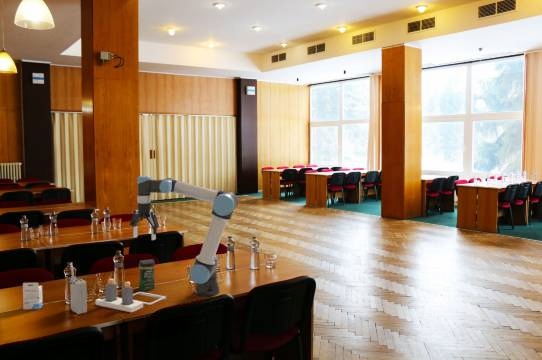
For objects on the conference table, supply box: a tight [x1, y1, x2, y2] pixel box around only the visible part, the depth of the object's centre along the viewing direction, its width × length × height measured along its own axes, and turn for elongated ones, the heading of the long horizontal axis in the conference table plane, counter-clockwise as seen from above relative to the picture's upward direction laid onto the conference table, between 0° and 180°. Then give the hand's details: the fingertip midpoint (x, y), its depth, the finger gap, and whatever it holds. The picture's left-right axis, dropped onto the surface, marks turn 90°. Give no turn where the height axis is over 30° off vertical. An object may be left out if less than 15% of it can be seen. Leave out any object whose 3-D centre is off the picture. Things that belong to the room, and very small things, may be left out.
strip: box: [94, 295, 144, 313], centre depth 256 cm, size 26×9×4 cm, turn 64°
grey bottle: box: [105, 278, 117, 302], centre depth 258 cm, size 4×4×14 cm
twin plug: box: [121, 281, 134, 306], centre depth 253 cm, size 4×4×14 cm
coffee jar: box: [138, 258, 156, 292], centre depth 287 cm, size 10×8×19 cm
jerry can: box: [69, 262, 88, 316], centre depth 249 cm, size 15×5×25 cm, turn 38°
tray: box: [133, 291, 167, 306], centre depth 268 cm, size 20×14×2 cm
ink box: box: [22, 282, 43, 310], centre depth 253 cm, size 8×5×15 cm, turn 96°
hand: (144, 238), depth 272 cm, fingers open, 13 cm apart
